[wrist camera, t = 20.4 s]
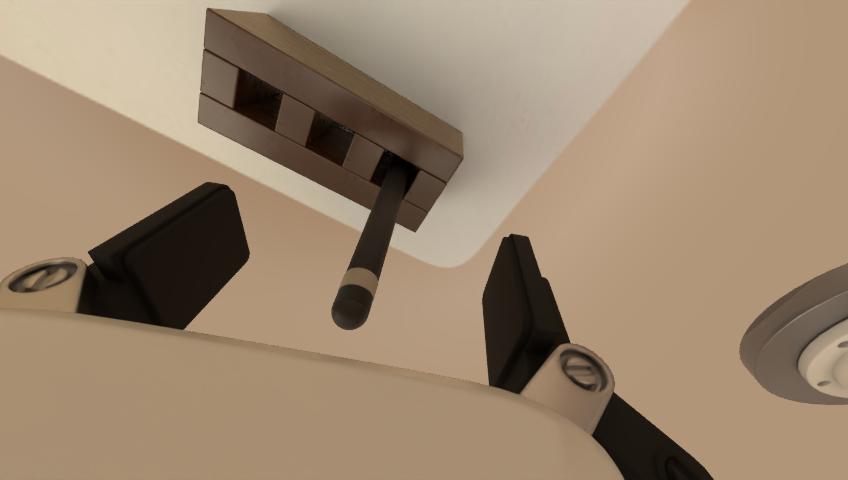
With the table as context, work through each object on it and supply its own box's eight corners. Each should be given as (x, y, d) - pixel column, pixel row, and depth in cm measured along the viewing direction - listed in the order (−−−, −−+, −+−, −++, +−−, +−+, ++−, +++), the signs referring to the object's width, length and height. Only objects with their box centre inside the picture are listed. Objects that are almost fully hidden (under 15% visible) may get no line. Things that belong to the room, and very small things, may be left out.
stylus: (417, 138, 19) (363, 318, 9) (416, 157, 20) (365, 339, 10) (398, 136, 19) (322, 312, 9) (397, 154, 20) (327, 334, 10)
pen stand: (264, 12, 16) (205, 6, 12) (463, 132, 18) (464, 158, 15) (248, 104, 19) (197, 122, 15) (422, 198, 21) (415, 233, 17)
